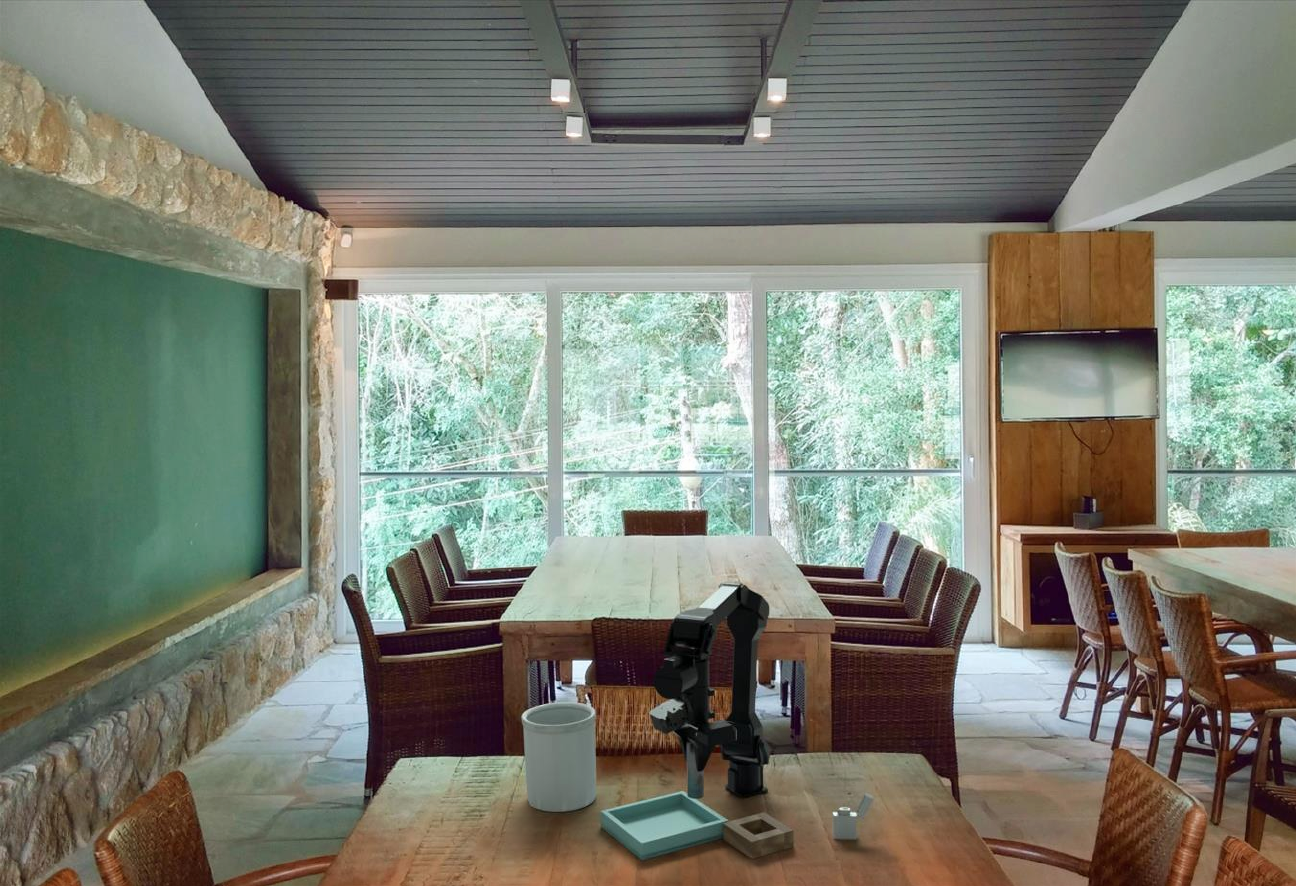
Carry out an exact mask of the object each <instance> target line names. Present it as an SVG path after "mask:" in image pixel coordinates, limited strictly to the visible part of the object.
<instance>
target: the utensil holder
mask: <svg viewBox="0 0 1296 886" xmlns="http://www.w3.org/2000/svg"><path fill="white" fill-rule="evenodd" d="M596 718H597V714H596V710H595V708H594V707H593V706H590V705H588V704H586V703H581V702H570V701H562V702H561V701H559V702H558V701H557V702H550V703H545V704H541V705H536V706H534V707H531V708H529V709H527V710H525V711H524V712H523V713H522V714H521V723H522V727H523V746H524V747H523V748H524V765H525V766H524V767H525V780H526V795H527V801H528V804H529V806H531V807H532V808H534V809H536V810H539V811H544V812H549V813H551V812H552V813H565V812H572V811H576V810H579V809H582V808H586V807H587V806H589V805H591V804H592V803H593V802H594V801H595V799H596V797H597V759H596V758H597V755H596V722H595V721H596Z"/></svg>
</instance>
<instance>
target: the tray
mask: <svg viewBox="0 0 1296 886" xmlns="http://www.w3.org/2000/svg"><path fill="white" fill-rule="evenodd" d="M726 822H729V820H728V819H727V818H725V817H724V816H722V815H721V814H720V813H718V812H716V811H714V810H713V809H712V808H710V807H708V806H707V805H705V804H704V803H702V802H701V801H699V800H698V799H692V798H689V797H688V796H687V792H685V791H684V790H680V791H675V792H674V793H673V792H672V793H669V794H665V795H661V796H657V797H653V798H648V799H644V800H639V801H636V802H631V803H627V804H624V805H619V806H616V807H610V808H608V809H607V808H605V809H603V810H600V828H602V829H603V830H605V831H606V833H608V834H609V835H611V836H612V837H613V838H614V839H616V840H617V841H618V842H619V843H620V844H621V845H623V846H624V847H625V848H626V849H627V850H629V851H630V852H631V853H633V854H634V855H635V856H636V857H637V858H638V859H640V860H641V861H645V860H648V859H653V858H655V857H659V856H662V855H666V854H667V855H668V854H670V853H674V852H678V851H681V850H684V849H688V848H693V847H696V846H700V845H704V844H706V842H707V843H709V842H710V843H711V842H714V841H717V840H721V839H723V823H726Z"/></svg>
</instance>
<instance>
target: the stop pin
mask: <svg viewBox="0 0 1296 886" xmlns="http://www.w3.org/2000/svg"><path fill="white" fill-rule="evenodd" d="M704 778H705V777H704V770H703V771H701V772H698V771H697V767H696V759H695V750H694V744H693V743H692V742H691V741H690V740H687V763H686V781H687V783H686V788H687V789H686V791H687V792H686V793H687V796H688V797H689V798H692V799H696V800H698V799H702V798H704V797H705V792H704V791H705V789H704V788H705V786H704V785H705V784H704V783H705V782H704V781H705V779H704Z"/></svg>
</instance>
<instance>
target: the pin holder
mask: <svg viewBox="0 0 1296 886" xmlns="http://www.w3.org/2000/svg"><path fill="white" fill-rule="evenodd" d="M722 840H723V841H725V842H727V844H730V845H731V846H732V847H733V848H735V849H737V850H738V851H740V852H741V853H742V854H744V855H745V856H747V857H748V858H749V859H751V860H753V859H757V858H759V857H760V858H761V857H763V856H767V855H770V854H773V853H777V852H780V851H784V850H787V849H791V848H794V840H795V839H794V829H792V828H790V827H789V826H787V825H785V824H784V823H782V822H780V821H779V820H778V819H776V818H774V817H772V816H770V815H769V814H767V813H766V812H760V813H755V814H753V815H749V816H746V817H742V818H738V819H734V820H733V819H732V820H730V821H729V820H728V822H726V823H723V838H722Z"/></svg>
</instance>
